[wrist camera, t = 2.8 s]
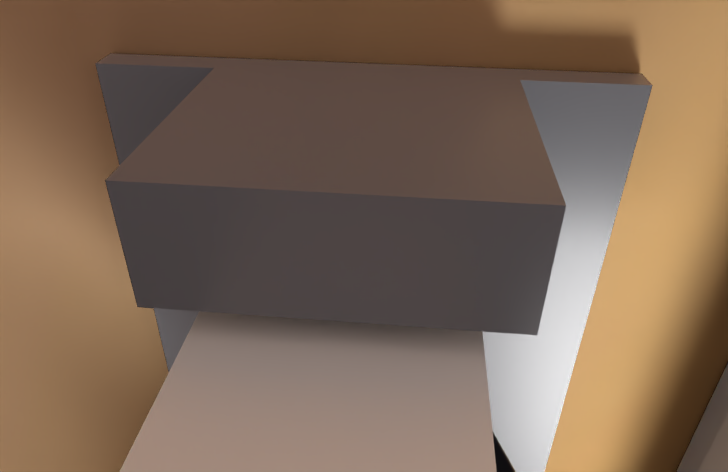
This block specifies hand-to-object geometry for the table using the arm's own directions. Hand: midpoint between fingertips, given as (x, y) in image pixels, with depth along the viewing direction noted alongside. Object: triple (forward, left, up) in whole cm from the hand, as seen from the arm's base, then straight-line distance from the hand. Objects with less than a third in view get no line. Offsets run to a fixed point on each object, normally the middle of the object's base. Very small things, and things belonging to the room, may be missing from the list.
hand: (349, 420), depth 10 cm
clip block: (-6, 0, -3) cm, 6 cm away
